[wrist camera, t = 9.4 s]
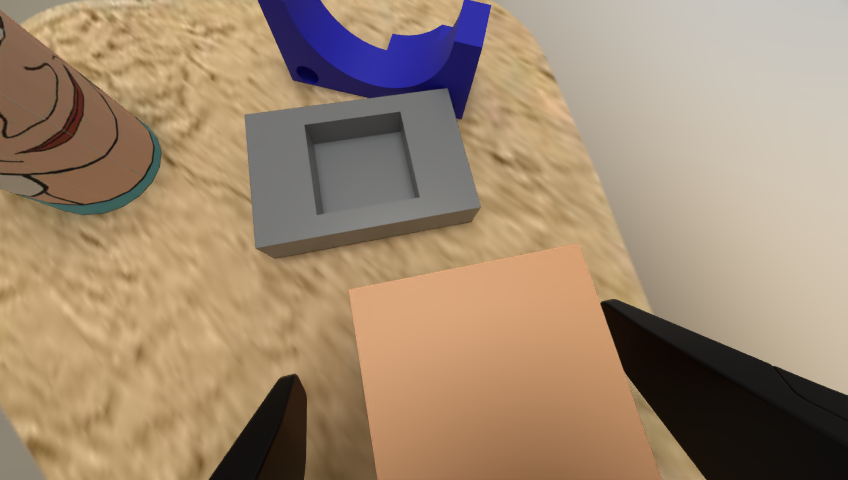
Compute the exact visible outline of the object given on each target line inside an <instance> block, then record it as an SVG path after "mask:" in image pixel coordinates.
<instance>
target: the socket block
mask: <svg viewBox="0 0 848 480" xmlns="http://www.w3.org/2000/svg"><path fill="white" fill-rule="evenodd" d="M245 126H246V138H247V151H248V163H249V175H250V187H251V199H252V211H253V224H254V236H255V248H256V249H258V250H260V251H262V252H264V253H265V254H267V255H269V256H271V257H273V258H280V257H286V256H291V255H296V254H302V253H307V252H312V251H318V250H323V249H328V248H334V247H339V246H344V245H350V244H355V243H360V242H366V241H371V240H376V239H382V238H387V237H392V236H398V235H403V234H408V233H414V232H419V231H424V230H430V229H435V228H440V227H446V226H451V225H456V224H462V223H467V222H471V221H472V220H473V218H474V217H475V215H476V214H477V212H478V211H479V209H480V208H481V206H480V202H479V199H478V195H477V192H476V188H475V184H474V181H473V177H472V174H471V170H470V167H469V163H468V159H467V156H466V152H465V149H464V145H463V142H462V138H461V134H460V131H459V127H458V124H457V120H456V117H455V113H454V109H453V106H452V102H451V99H450V95H449V92H448V88H445V89H437V90H429V91H422V92H414V93H407V94H399V95H391V96H384V97H376V98H368V99H361V100H353V101H346V102H338V103H330V104H323V105H315V106H307V107H300V108H292V109H285V110H277V111H269V112H262V113H254V114H247V115H245Z"/></svg>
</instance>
